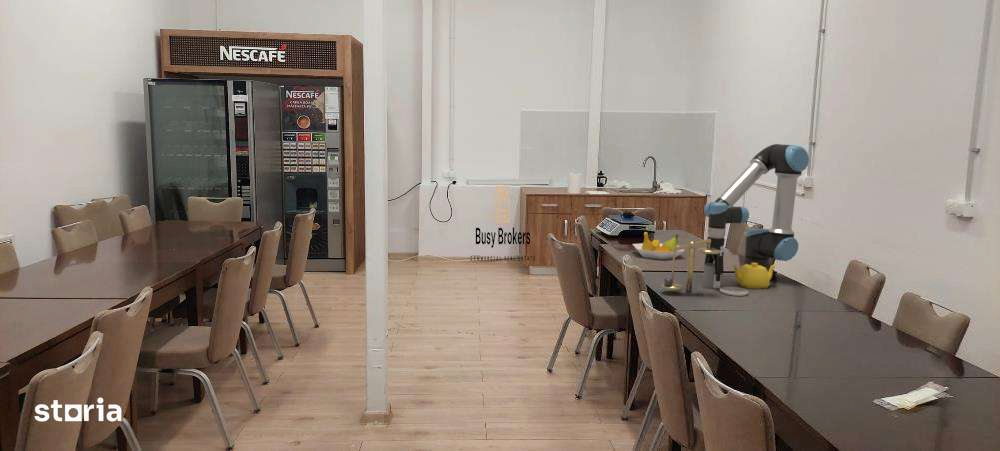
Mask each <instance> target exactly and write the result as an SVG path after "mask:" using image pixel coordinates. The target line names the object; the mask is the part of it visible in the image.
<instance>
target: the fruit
mask: <svg viewBox="0 0 1000 451" xmlns="http://www.w3.org/2000/svg"><path fill="white" fill-rule="evenodd" d="M679 236H680V235H679V234H676V235H675V237H671V238H670V239H669V240H666V241H664V242H663V243H661V242H660V239H655V240H652V241H651V240H650V239H649V232H647V231H644V233H643V237H644V238H643V242H642V243H632V246H633V247H634V248H635V250H637V252H638V253H639V254H640V256H642V257H643V258H646V259H655V260H660V261H661V260H670V259H672V260H673V248H675V247H679V246H680V245H679V243H678V242H679V240H678V239H679ZM685 250H686V249H682V250H678V251H675V259H676V258H678V257H679V256H680V255H681V254H683V253H684V252H685Z"/></svg>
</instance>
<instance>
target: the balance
mask: <svg viewBox="0 0 1000 451" xmlns="http://www.w3.org/2000/svg"><path fill="white" fill-rule="evenodd" d="M710 242H711V239H703V240H699V241H693V240H692V241H689V242H688V244H683V245H678V246H679V247H675V248H673V259H672V263H671V264H672V266H671V268H672V269H671V278H664V283H662V284H660V286H661V288H662V289H664V290H670V291H674V292H675V293H676V294H677V295H678V296H683V297H684V296H685V297H687V296H689V297H690V296H691V297H692V296H693V297H696V296H698V297H699V296H700V297H701V296H702V297H703V296H704V292H703V291H700V290H699V289H698V288H696V287H695V288H693V277H694V265H695V264H694V262H695V249H696V246H700V245H704V244H707V243H708V245H707V246H708V248H707V247H699V248H697V252H698V253H701V254H705V255H706V254H719V253H720V250H718V249H714V248H710ZM682 249H684V250H686V249H688V253H687V270H686V272H687V273H686V281H685V282H686V286H685V287H683V285H682V284H680V283H674V278H675V277H674V276H675V275H674V274H675V263H676V262H675V260H676V258H675V251H678V250H682Z"/></svg>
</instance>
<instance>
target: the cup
mask: <svg viewBox="0 0 1000 451" xmlns="http://www.w3.org/2000/svg"><path fill="white" fill-rule="evenodd" d="M714 273H715V265H714V262H713V263H710V264H709V263H706V264H704V263H703V274H702V275H703V276H702V278H703V279H702V287H704V288H706V289H714V290H716V289H719V290H720V288H722V287H723V277H724V273H723V274H721V279H720V288H713V285H714Z"/></svg>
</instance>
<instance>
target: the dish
mask: <svg viewBox="0 0 1000 451" xmlns="http://www.w3.org/2000/svg"><path fill="white" fill-rule="evenodd" d="M719 291H720V293H721V294H723V295H726V296H731V295H732V296H733V297H745V296H747V295H748V294H749V290H747V289H746V288H745V289H744V288H741V287H734V286H724V287H723V286H722V288H719Z"/></svg>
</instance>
